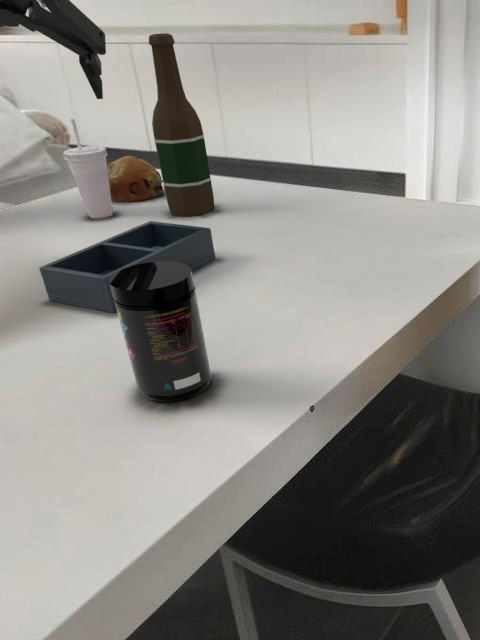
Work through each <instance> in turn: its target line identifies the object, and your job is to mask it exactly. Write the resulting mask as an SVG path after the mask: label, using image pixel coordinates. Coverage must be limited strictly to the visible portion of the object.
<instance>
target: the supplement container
mask: <svg viewBox="0 0 480 640" xmlns="http://www.w3.org/2000/svg"><path fill="white" fill-rule="evenodd" d="M109 285H110V288H111V292H112V296H113V301H114V303H115V305H116V309H117V311H116V313H117V316H118V320H119V323H120V328H121V332H122V335H123V338H124V342H125V346H126V350H127V353H128V358H129V361H130V365H131V368H132V372H133V376H134V379H135V380H134V381H135V384H136V386H137V390H138V391H139V393H140V394H141V395H142V396H143V397H145V398H147V399H148V400H151V401H154V402H158V403H175V402H180V401H181V402H182V401H185V400H188V399H189V400H190V399H191V398H195V397H196V396H198V395H200V394H201V393H203V392H204V391H205V390H206V389H207V388H208V387H209V385H210V383H211V380H212V371H211V366H210V362H209V361H210V360H209V356H208V350H207V345H206V340H205V335H204V331H203V330H204V329H203V325H202V320H201V315H200V314H201V313H200V309H199V305H198V298H197V294H196V285H195V281H194V276H193V271H192V270H191V268H190V267H189V266H188V265H186V264H183V263H178V262H169V261H160V262H149V263H142V264H138V265H133V266H130V267H127V268H124V269H122V270H119V271H118V272H116V273H114V274H113V275H112V276H111V277H110V278H109Z"/></svg>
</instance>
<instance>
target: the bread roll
mask: <svg viewBox="0 0 480 640" xmlns="http://www.w3.org/2000/svg"><path fill="white" fill-rule="evenodd" d="M107 171H108V178H109V186H110V194H111V202H119V203H121V202H123V203H129V202H140V201H147V200H150V199H154V198H156V197H158V196H161V194H162V193H163V190H164V185H163V179H162V175H161V172H160V171H158V170H157V169H156V168H155V166H153V165H151V163H149V162H147V161H146V160H144V159H142V158H138V157H137V156H134V155H125V156H122V157H120V158H118V159H117V160H113V161H112V162H110V163H109V164H107Z"/></svg>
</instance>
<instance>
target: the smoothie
mask: <svg viewBox="0 0 480 640" xmlns="http://www.w3.org/2000/svg"><path fill="white" fill-rule="evenodd" d="M70 123H71V126H72V131H73V135H74V138H75V142H76V145H77V147H72V148H69V149H66V150H64V151H63V153H62V154H63V157H64V160H65V161H66V162H67V163H68V166H69V169H70V172H71V173H72V177H73V179H74V181H75V184H76V186H77V188H78V192H79V194H80V196H81V199H82V202H83V204H84V207H85V209H86V211H87V214H88V217H89V218H90V219H103V218H108V217H111V216H113V215H114V211H113V201H112V200H111V194H110V186H109V178H108V171H107V167H108V164H107V156H108V153H107V148H106V147H105V146H100V145H85V146H82V142H81V138H80V135H79V131H78V128H77V127H78V126H77V123H76V119H75V118H70Z"/></svg>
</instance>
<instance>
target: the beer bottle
mask: <svg viewBox="0 0 480 640" xmlns="http://www.w3.org/2000/svg"><path fill="white" fill-rule="evenodd" d="M175 43H176V42H175V39H174V37H173V35H172V34H171V33H167V32H165V33H153V34H152V33H151V34H150V35H148V44H149V46H151V52H152V59H153V67H154V75H155V81H156V91H157V100H156V103H155V106H154V108H153V112H152V119H151V120H152V121H151V126H152V134H153V138H154V139H153V140H154V145H155V149H156V154H157V160H158V164H159V169H160V175H161V179H162V180H163V182H162V185H163V190H164V193H165V199H166V202H167V206H168V210H169V212H170V214H171V215H172V216H176V217H185V218H187V217H195V216H202V215H206V214H207V213H211V212H213V211H214V210H215V208H216V206H215V196H214V191H213V183H212V178H211V173H210V165H209V160H208V154H207V148H206V141H205V135H204V131H203V130H204V129H203V126H202V122H201V119H200V117H199V115H198V113H197V111H196V109H195V107H193V105H192V104H191V103H190V101H189V100H188V99H187V95H186V93H185V90H184V87H183V84H182V78H181V74H180V70H179V65H178V61H177V60H178V59H177V57H176V52H175V46H174V44H175Z"/></svg>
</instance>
